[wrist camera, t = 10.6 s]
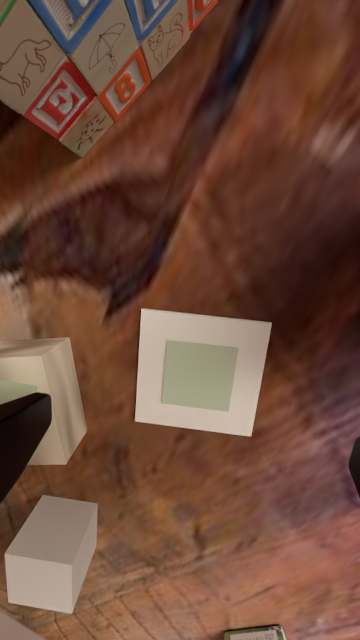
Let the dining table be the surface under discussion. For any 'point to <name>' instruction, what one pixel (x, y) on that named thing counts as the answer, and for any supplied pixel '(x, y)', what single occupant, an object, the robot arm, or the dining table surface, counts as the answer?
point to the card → (200, 371)
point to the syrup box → (257, 634)
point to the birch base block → (49, 391)
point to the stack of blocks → (87, 59)
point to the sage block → (16, 395)
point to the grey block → (52, 554)
